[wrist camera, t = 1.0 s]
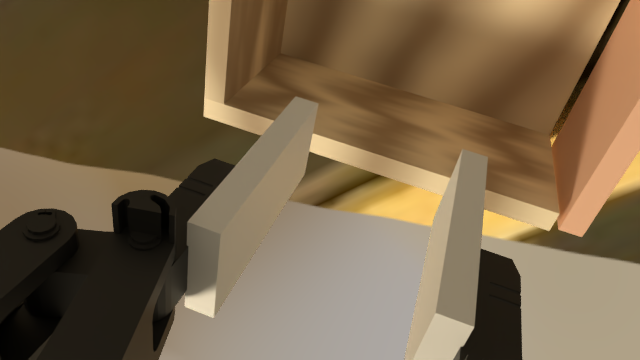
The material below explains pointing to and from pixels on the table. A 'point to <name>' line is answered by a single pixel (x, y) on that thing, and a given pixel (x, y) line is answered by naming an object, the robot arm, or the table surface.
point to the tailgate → (600, 129)
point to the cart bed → (412, 84)
